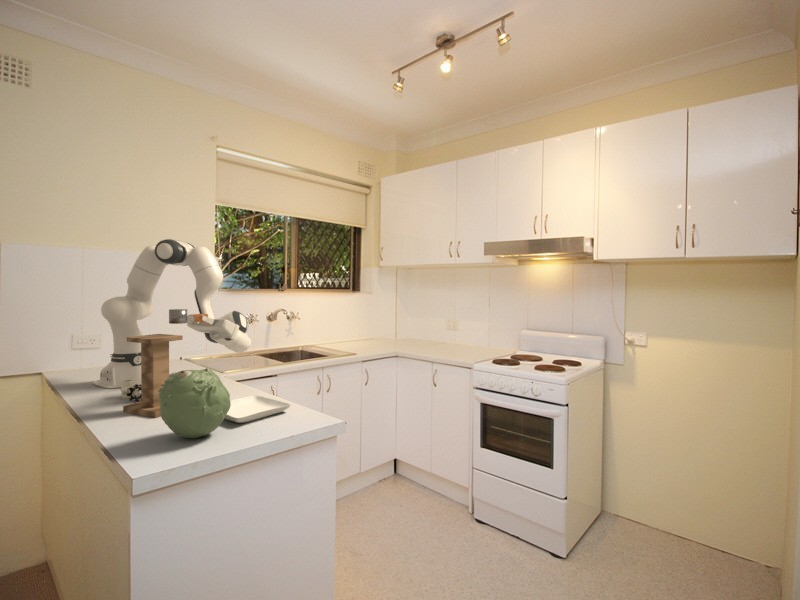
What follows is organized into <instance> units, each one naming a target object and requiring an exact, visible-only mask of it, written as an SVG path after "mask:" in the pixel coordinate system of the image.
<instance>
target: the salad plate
mask: <svg viewBox="0 0 800 600" xmlns="http://www.w3.org/2000/svg"><path fill="white" fill-rule="evenodd" d="M230 402H231V406H230V409H229V411H228V413H227V414H226V416H225V418H224V420H228V421H230V422H233V423H237V424H244V423H249V422H253V421H256V420H260V419H264V418H266V417H270V416H273V415H277V414H279V413H281V412H284V411H286V410H288V409H289V408H290V407H291V405H292V404H291V403H288V402H284V401H281V400H278V399H275V398H274V399H273V398H269V397H265V396H261V395H257V394H255V395H250V396H245V397H239V398H235V399H232V400H231V399H230Z"/></svg>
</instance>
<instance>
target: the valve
mask: <svg viewBox="0 0 800 600" xmlns="http://www.w3.org/2000/svg"><path fill="white" fill-rule="evenodd" d="M120 392H121V398H122V399H128V401H129V402H131V401H132V402H133V400H134V403H137V402H140V401H139V399H141V394H140V392H141V386H140V385H138V384H135V386H133V380H124V381H122V387H120ZM138 395H139V396H138Z"/></svg>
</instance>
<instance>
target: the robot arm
mask: <svg viewBox="0 0 800 600" xmlns="http://www.w3.org/2000/svg"><path fill="white" fill-rule="evenodd" d="M209 249H210V248H207V247H206V246H202V245H201V246H196V247H195V246H194V245H193V244H191V243H189V242H185V241H182V240H179V239H178V240H176V239H169V238H167V239H162V240H160V241H159V242H157V244H156V245H153V244H152V245H148V246H145V247H144V249H143V250H142V251H141V253H139V255H138V257H137V258H136V260H135V262H134V264H133V266H132V268H131V270H130V272H129V274H128V276H127V278H126V284H127V292H126V294H125V296H124V295H123V296H115V297H111V298H109V299H106V300H105V301H104V302H103V303H102V304H101V308H100V312H101V315H102V317H103V318H104V319H105V320H106V321H107V322H108V324H109V326H110V329H111V333H112V341H113V353H112V354H109V355H110V356H109V358H110V362H109V363H108V364H107V365H105V366H104V367H103V368H102V369H101V370H100V375H99V376H100V377H99V379H98V380H95V381H93V385H94V386H95V385H96V386H98V387H101V388H103V389H104V388H105V389H116V388H117V389H118V388H121V387H122V381H124V380H133V387H135V384H138V385H139V386H141V343H136V342H127V337H134V336H144V334H143V332H142V331H141V330H140V328H139V325H138V322H137V321H139V320H144V319H145V318H147V317H149V316H150V315H151V314H152V312H153V311H154V305H153V302H152V301H153V296H154V291H155V289H156V286H157V285H158V282H159V280H160V278H161V277H162V274H163V273H164V270H165V268H166V267H167V266H168V265H171V266H177V267H178V266H181V267H182V266H183V267H185V266H188V267H189V268H190V270H191V272H192V273H193V276H194V278H195V286H196V287H195V290H194V293H193V294H194V298H195V299H194V300H195V302H196V306H197V309H198V314H208V317H206V316H201V317H200V320H201V322H189V323H186V326H187V327H188V328H190V329H192V330H194V331H195V332H196V331H197V332H199V333H203V334H204V337H205V338H206V340H208V341H209V342H210V343H213V344H220V345H223V346H224V347H225V349H226V348H227V349H228V350H230V351H232V352H234V353H238V354H241V353H245V352H246V351H247V350H249V348H251V345H252V339H251V338H250V337H249V335H248V333H247V330H248V320H247V318H246V316H245V315H244V314H242V313H241V312H239V311H237V310H233V311H230V312H228V313H226V314H224V315H222V316H220V317H219V318H215V316H214V312H213V308H212V305H211V299H212V297H213V295H214V294H215V293H216V292H217V290H219V289H220V287H221V285H222V283H223V281H224V275H223V271H222V269H221V267H220V265H219V263H218V261H217V260H216V258H215V256H214V255H213V253H212V252H211V251H210V250H209Z"/></svg>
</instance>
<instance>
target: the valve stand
mask: <svg viewBox="0 0 800 600" xmlns="http://www.w3.org/2000/svg"><path fill="white" fill-rule="evenodd" d="M183 337H184V336H183V335H182V334H181V335H180V334H167V333H165V334H164V333H155V334H154V333H153V334H145V335H144V334H143V336H134V337H127V342H136V343H141V385H140V387H141V390H140V392H141V393H140V395H141V398H140V399H141V400H140V401H138V402H133V403H130V404H127V405H123V406H122V412H123V413H127V414H131V415H132V414H133V415H138V416H144V417H150V418H155V419H158V418H160V417H161V415H160V403H159V397H158V396H159V393H160V392H158V390H159V389H160V388H163V386H160V385H162V384H165V382H164V381H165V380H167V379H168V376H169V375H170V342H175V341H183Z"/></svg>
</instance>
